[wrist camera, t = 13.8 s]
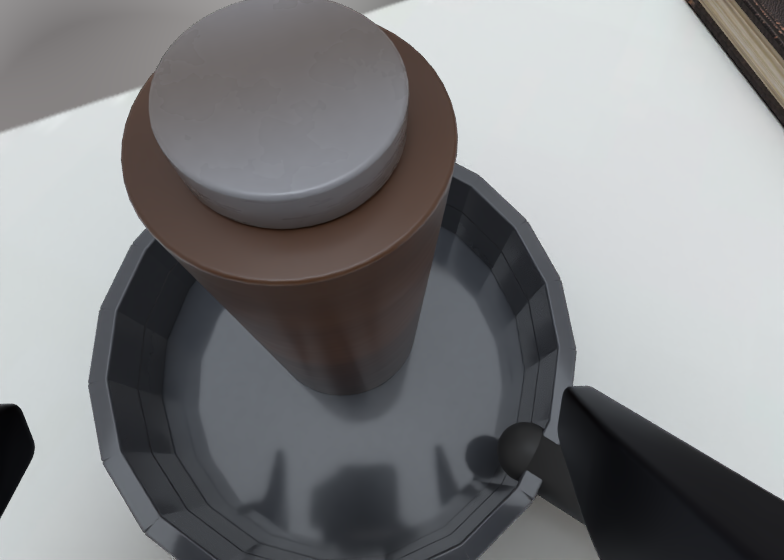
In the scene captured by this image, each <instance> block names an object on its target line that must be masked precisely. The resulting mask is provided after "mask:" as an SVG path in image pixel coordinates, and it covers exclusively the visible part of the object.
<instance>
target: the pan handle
mask: <svg viewBox="0 0 784 560" xmlns="http://www.w3.org/2000/svg"><path fill="white" fill-rule="evenodd" d="M497 455H498V460H499V462H500V465H501V467H502V468H503V470H504V471H505V472H506V473H507V475H509V476H510V477H511V478H512V479H516V478H518V477H519V476H520V475H521V474H522V473H523V472H524V471H529V472H530V473H532V474H533V475H535V476H537V477H538V478H540V479H541V480H542V481H543V482H542V484H541V487H540V489H539V491H538V493H537V495H539V496H540V497H542V498H544V499H545V500H547V501H548V502H550V503H551V504H553V505H555V506H556V507H558V508H559V509H561V510H562V511H564V512H566V513H567V514H569V515H570V516H572V517H573V518H575V519H577V520H578V521H580V522H581V523H583V524H584V525H586V524H585V521H584V518H583V516H582V513H581V509H580V506H579V503H578V500H577V497H576V493H575V490H574V487H573V484H572V481H571V477H570V474H569V471H568V468H567V465H566V461H565V458H564V455H563V452H562V449H561V445H558V444H556V443H555V442H553V441H551V440H550V439H548V438H547V437H545V436H544V435H543V434H542V427H541V426H539V425H537V424H534V423H531V422H519V423H516V424H513V425H511V426H509V427H508V428H507V429H506V430H505V431H504V432H503V433H502V434H501V436H500V438H499V441H498V445H497Z"/></svg>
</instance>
